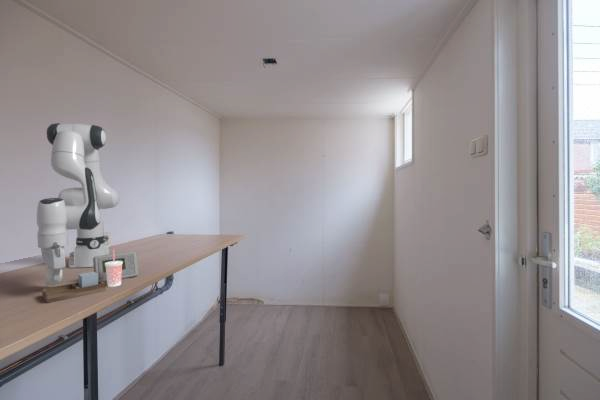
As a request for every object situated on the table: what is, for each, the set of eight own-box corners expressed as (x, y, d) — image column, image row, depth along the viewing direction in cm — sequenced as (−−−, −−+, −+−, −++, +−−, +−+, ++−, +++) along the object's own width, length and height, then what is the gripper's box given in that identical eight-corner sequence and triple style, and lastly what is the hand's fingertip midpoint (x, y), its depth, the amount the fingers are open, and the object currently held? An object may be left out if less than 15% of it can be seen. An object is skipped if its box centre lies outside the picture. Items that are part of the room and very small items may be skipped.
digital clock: (92, 284, 122) (92, 258, 122) (94, 279, 130) (93, 254, 129) (138, 278, 130) (138, 253, 130) (137, 273, 138) (137, 250, 138)
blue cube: (78, 287, 114) (78, 274, 114) (94, 284, 118) (93, 271, 118) (82, 290, 111) (81, 276, 111) (98, 287, 115) (97, 273, 114)
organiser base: (42, 296, 108) (42, 289, 108) (98, 285, 121) (97, 278, 121) (47, 303, 102) (47, 294, 102) (105, 290, 115) (105, 283, 114)
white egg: (44, 283, 116) (44, 267, 116) (61, 280, 120) (60, 265, 120) (47, 286, 113) (46, 270, 113) (64, 282, 117) (63, 267, 116)
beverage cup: (110, 282, 124) (109, 248, 124) (126, 282, 125) (125, 248, 124) (101, 287, 118) (101, 251, 118) (118, 287, 118) (117, 251, 118)
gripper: (70, 243, 111) (71, 281, 112) (57, 237, 125) (58, 270, 125) (47, 246, 106) (49, 285, 107) (37, 239, 120) (38, 273, 121)
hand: (54, 277), depth 116 cm, fingers closed on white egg, 5 cm apart
